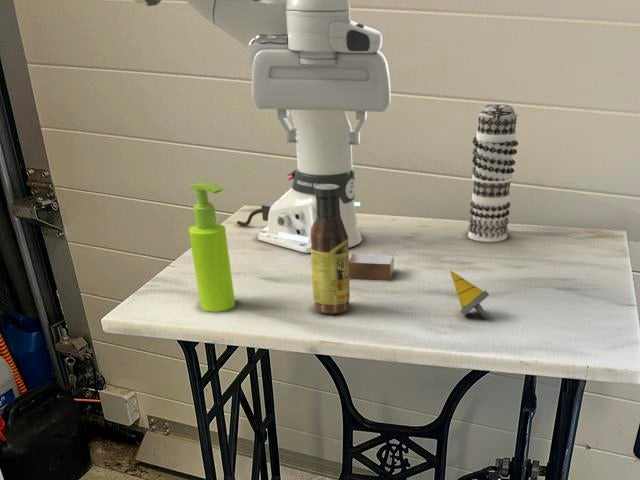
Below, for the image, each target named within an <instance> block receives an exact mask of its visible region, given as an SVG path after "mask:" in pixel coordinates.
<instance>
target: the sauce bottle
mask: <svg viewBox="0 0 640 480" xmlns="http://www.w3.org/2000/svg"><path fill="white" fill-rule="evenodd" d="M315 197H316V207H317V211H316V214H317V218H316V220H315V222H314V223H313V225H312V228H311V253H310V261H311V277H312V295H313V296H312V297H313V301H314V304H313V305H314V309H315V310H316V311H317V313H321V314H325V315H336V314H341V313H343V312H346V311H348V310H349V308H350V299H351V295H350V294H351V293H350V292H351V291H350V290H351V289H350V278H349V260H350V253H349V248H348V235H347V233H346V230H345V227H344V224H343V222H342V219H341V216H340V206H339V197H340V186H338V185H335V184H321V185H317V186H315Z"/></svg>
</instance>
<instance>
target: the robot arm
mask: <svg viewBox="0 0 640 480" xmlns="http://www.w3.org/2000/svg"><path fill="white" fill-rule="evenodd" d="M132 1H134V2H135V3H138V4H142V5H146V6H147V7H153V6H158V5H159V4H160V3H161V2H162V0H132ZM185 1H186V2H187V3H188V4H189V5H190V6H191V7H192V8H193V9H194V10H195V11H196V12H198V13H199V14H200V15H201V16H202V17H204V19H206V20H208V21H209V22H210V23H212V24H213V25H214V26H216V27H217V28H218V29H220V30H222V31H223V32H225V33H226V34H227V35H229V36H231V37H232V38H234V39H235V40H236V41H238V42H239V43H240V44H242V45H244V46H245V47H247V56H248V63H249V65H250V67H251V100H252V103H253V104H254V106H255V107H256V108H257V109H258V110H276V111H277V119H278V121H279V123H280V125H281V126H282V128H283V129H284V131H285V135H286V143H287V144H295V147H296V160H297V161H296V163H297V168H296V169H294V170H293V171H292V172H290V173H287V174H286V176H287V177H288V178H286V180H287V181H290V180H292V183H291V187H290V189H289V190H288V191H286V192H285V193H284V194H283V195H282V196H281V197H280V198H279V199H278V200H272V201H269V202H266V203H263V204H261V208H258V209H255V210H253V211H252V212H251V213H249V215H248V217H247V220H246V221H245V222H243V221H240V220H237V221H236V224H237V225H238V226H242V227H247V226H249V225H250V224H251V222H252V219H253V217H254V216H256V215H257V214H262V221H264V222H267V226H266V227H264V228H262V229H261V230H260V231H259V232H258V234H257V240H258V241H261V242H265V243H267V244H268V243H269V244H270V245H271V244H272V245H275V246H278V247H283V248H286V249H290V250H293V251H296V252H299V253H303V254H304V253H305V254H309V253H310V254H311V228H312V225H313V223H314V222H315V220H316V218H317V214H316V211H317V207H316V197H315V186H317V185H321V184H335V185H338V186H340V197H339V206H340V216H341V219H342V222H343V224H344V227H345V230H346V233H347V235H348V249H349V248H352V247H355V246H357V245H359V244H360V243H362V240H363V238H362V235H361V232H360V228H359V225H358V218H357V213H356V212H357V211H356V207H360V206H361V202H359V201H358V202H357V201H355V199H356V175H355V168H353V146H359V145H360V142H361V130H362V128H363V126H364V124H365V122H366V120H367V118H368V112H369V113H370V112H372V113H373V112H374V113H384V112H385V111H387V109H388V108H389V107H390V106H391V100H392V97H391V96H392V95H391V94H392V93H391V79H390V71H389V64H388V61H387V59H386V57H385V55H384V54H383V52H382V51H380V49H381V48H382V45H383V36H382V33H381V32H380V31H378V30H377V29H375V28H372V27H369V26H366V25H364V24H362V23H359V22H356V21H354V20H352V19H351V4H350V1H349V0H185ZM290 111H291V114H290ZM347 112H355V120H358V123H357V125H356V127H355V129H352V124H351V122H350V120H349V117H348V114H347ZM290 115H291V116H292V121H293V126H294V128H293V126H292V125H291V122H290V120H289V119H288V117H289V116H290Z"/></svg>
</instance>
